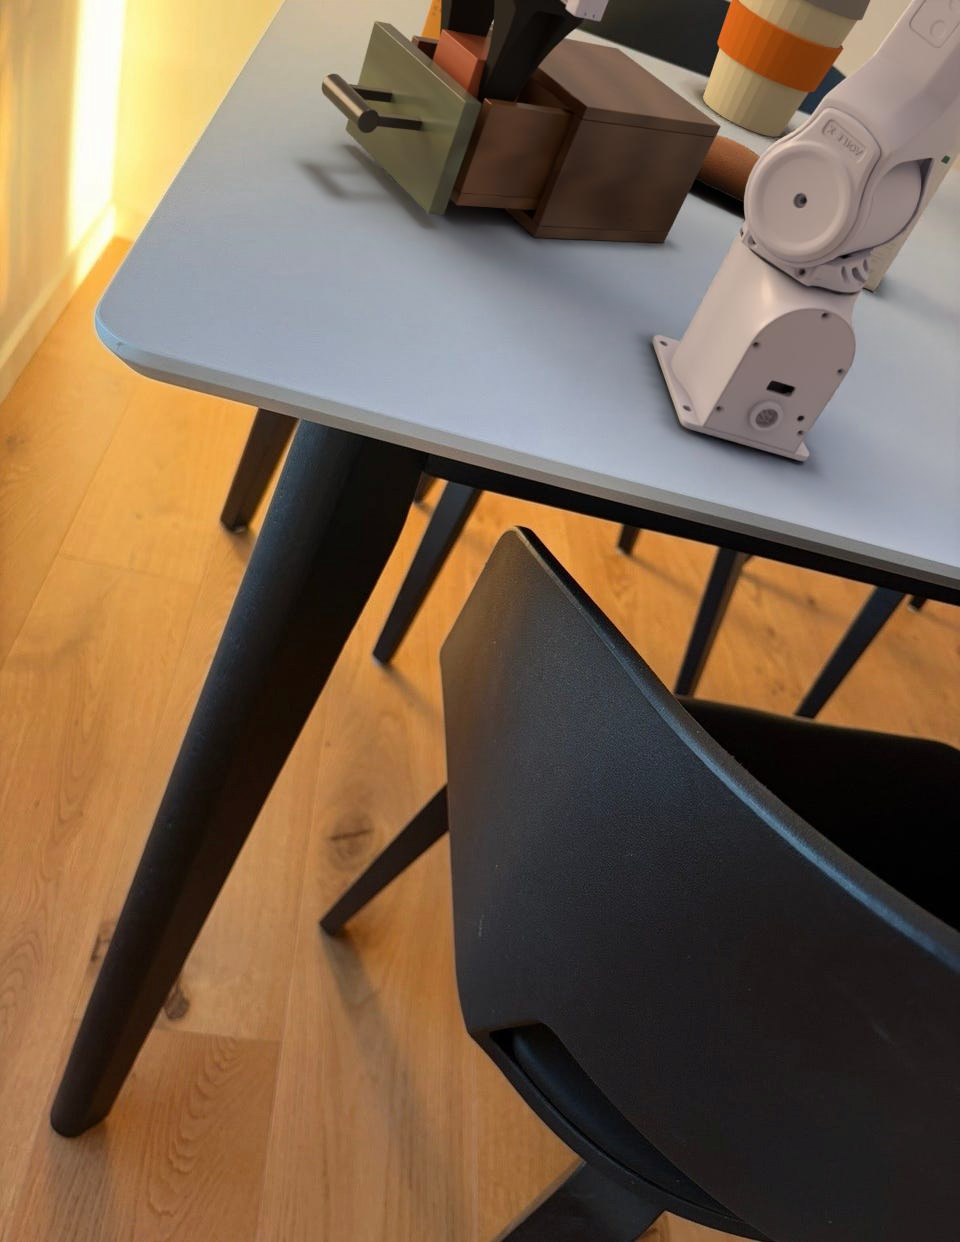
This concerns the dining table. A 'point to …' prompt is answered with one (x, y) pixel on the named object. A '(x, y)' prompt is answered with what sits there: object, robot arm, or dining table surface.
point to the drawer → (448, 128)
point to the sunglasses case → (728, 167)
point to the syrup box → (888, 252)
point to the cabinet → (616, 149)
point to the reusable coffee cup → (776, 57)
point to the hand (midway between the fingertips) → (471, 91)
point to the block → (463, 58)
